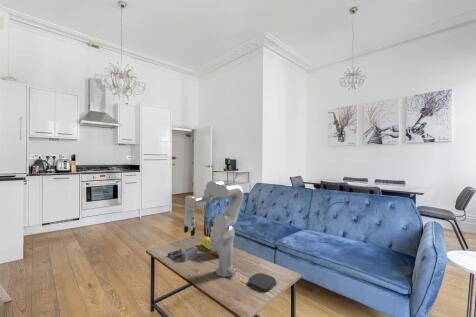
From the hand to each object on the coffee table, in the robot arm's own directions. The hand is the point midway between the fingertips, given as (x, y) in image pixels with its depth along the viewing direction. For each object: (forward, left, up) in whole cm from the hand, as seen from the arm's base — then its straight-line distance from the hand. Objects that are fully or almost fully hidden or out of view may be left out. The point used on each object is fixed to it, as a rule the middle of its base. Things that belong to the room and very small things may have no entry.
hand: (189, 233), depth 169 cm
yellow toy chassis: (+3, -23, -18) cm, 29 cm away
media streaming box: (-63, -10, -19) cm, 66 cm away
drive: (-2, 0, -18) cm, 18 cm away
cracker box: (-13, -20, -18) cm, 30 cm away
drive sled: (+8, +4, -18) cm, 20 cm away
